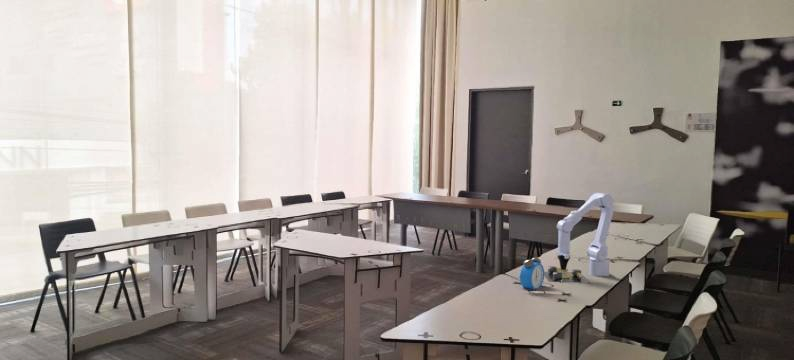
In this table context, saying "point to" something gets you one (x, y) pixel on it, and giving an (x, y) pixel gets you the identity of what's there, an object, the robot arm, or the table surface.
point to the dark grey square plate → (573, 279)
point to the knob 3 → (576, 273)
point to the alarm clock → (532, 273)
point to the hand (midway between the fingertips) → (563, 269)
